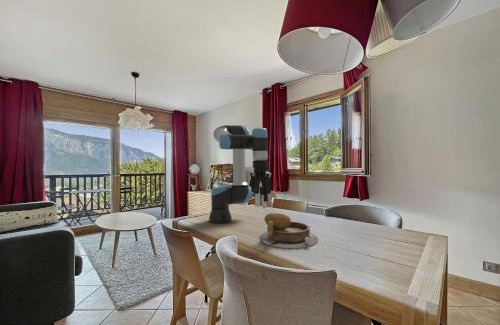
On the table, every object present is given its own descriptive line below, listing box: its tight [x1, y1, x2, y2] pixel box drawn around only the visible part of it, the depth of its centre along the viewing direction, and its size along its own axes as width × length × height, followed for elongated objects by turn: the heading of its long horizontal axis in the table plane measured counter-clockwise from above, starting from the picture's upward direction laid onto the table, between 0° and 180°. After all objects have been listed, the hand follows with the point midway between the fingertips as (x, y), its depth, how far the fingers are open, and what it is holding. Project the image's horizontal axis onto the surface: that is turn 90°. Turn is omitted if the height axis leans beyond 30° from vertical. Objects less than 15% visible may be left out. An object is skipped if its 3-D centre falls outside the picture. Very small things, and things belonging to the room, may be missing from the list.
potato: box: [263, 212, 292, 231], centre depth 117 cm, size 10×14×8 cm
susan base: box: [259, 231, 319, 250], centre depth 117 cm, size 29×29×4 cm
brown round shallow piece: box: [266, 221, 311, 243], centre depth 115 cm, size 25×21×9 cm
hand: (261, 207), depth 113 cm, fingers open, 4 cm apart
